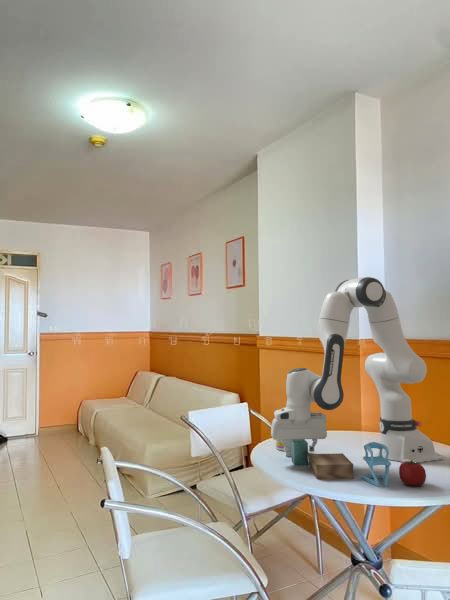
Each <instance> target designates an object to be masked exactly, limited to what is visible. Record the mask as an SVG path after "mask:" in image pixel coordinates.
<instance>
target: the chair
mask: <svg viewBox="0 0 450 600" xmlns="http://www.w3.org/2000/svg"><path fill="white" fill-rule="evenodd" d="M363 449H364V452H365V455H364V456H362V460H364V461H365V463H366V464H367V466H368V467H369V470H370V472H371V474H364V475H360V479H361V480H363V481H365V482H367V483H370V484H372V485H373V486H375V487H377V488H380V482H379V479H382V484H383V486H384V487H387V488H388V480H389V475H390V474H389V472H390V467H391V465H392V462H391V461H389V459H388V455H389V451H388V448H387V446H385V445H383V444H380V442H376V441H372V442H368V443H367V444H365V445H363ZM373 449H378V450H379V449H380V452H379V455H376V456H374V451H373ZM382 449H385V451H386V453H387V454H386V457H385V458H384V457H383V456H382ZM369 454H370V456H369ZM373 466H376V467H377V466H385V468H384V469H385V471H384V474H376V473H375V471H374V467H373Z"/></svg>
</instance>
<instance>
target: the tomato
mask: <svg viewBox="0 0 450 600" xmlns="http://www.w3.org/2000/svg"><path fill="white" fill-rule="evenodd" d="M398 475H399V479H400V480H401V482H402V483H403V484H404V485H405V486H410V487H411V486H413V487H421V485H424V484H425V482H426V481H427V473H426V469H425V468H424V466H423V465H422V464H421V463H420V462H417V463H415V462H413V461H412V460H411V461H410V462H409V461H406V462H401V463H400V465H399V467H398Z"/></svg>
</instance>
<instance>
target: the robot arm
mask: <svg viewBox="0 0 450 600" xmlns="http://www.w3.org/2000/svg"><path fill="white" fill-rule="evenodd" d="M362 307H363V308H364V309H365V311H366V312H367V313H366V314H367V317H368V322H369V327H370V332H371V337H372V340H373V342H374V343H375V344H376V345H377V346H379V347H380V348H381V350H382V351H383V352H376V353H372V354H369V355H368V356H367V357H366V359H365V362H364V368H365V369H364V370H365V372H366V374H367V375H368V376H369V377H370V379H372V381H373V383H374V385H375V387H376V390H377V392H378V396H379V405H380V407H379V408H380V417H379V431H380V439H379V443H380V444H383V445H385V446H387V448H388V451H389V455H388V460H391V461H396V462H401V463H404V462H406V461H409V462H410V461H411V460H412V461H413V462H417V463H424V462H423V461H427V462H431V461H430V460H436V461H438V460H437V459H442V460H443V456H442V455H441V453H439V452H438V451H436V450H435V446H434V443H433V441H432V440H431V438H429V436H427V435H425V434H424V433H423V432H421V431H420V430H419V429H418V428H417V427H419V428H421V427H422V426H423V424H422V421H420V420H416V419H414V418H413V415H412V399H411V397H410V396H409V395H408V394H407V393H406V392H405V391H404V390H403V387H402V386H401V384H418V383H421V382H422V381H424V379H425V378H426V375H427V371H428V368H427V364H426V362H425V360H424V359H423V358H422V357H420V356H419V355H418V354H417V353H415V351H414V349H412V348H411V346H410V345H409V342H407V340H406V338H405V335H404V333H403V332H404V331H403V329H402V325H401V321H400V314H399V311H398V306H397V304H396V302H395V300H394V297H393V295H392V294H391V292H390V291H387V290H386V289H385V287H384V285H383V283H382V282H381V281H380V280H379V279H377V278H374V277H371V276H366V277H356V278H352V279H345V280H344V281H342V282H340V283H339V284H338V285H337V287H336V289H335V290H334V291H330V292H329V293H327V294H326V295H325V297H324V299H323V302H322V304H321V309H320V313H319V316H318V322H317V336H318V339H319V340H320V343H321V345H322V347H323V352H324V357H323V358H324V359H323V364H322V366H323V367H322V372H321V373H322V374H321V375H318V374H317V373H314V372H313V371H311V370H310V369H309V368H306V367H300V368H299V367H298V368H294V369H291V370H289V371H288V373H287V376H286V382H285V383H286V385H285V387H286V388H285V391H286V392H285V393H286V396H287V399H286V403H285V404H286V406H285V407H282V408H281V409H280V408H279V409H276V410H274V412H273V416H274V418H273V419H272V422H271V428H270V437H271V438H272V439H273V440H274V441H276V440H281V443H282V444H283V446H284V451H283V452H284V453H286V452H289V447H288V446H286V445H285V444H284V443H285V442H286V440H294V439H305V440H312V443H311V445H308V452H309V451H310V452H315V447H316V445H317V444H318V440H324V439H326V438H327V437H328V431H327V429H328V428H327V415H326V414H324V413H323V412H312V403H315V404H316V405H317V406H318V407H319V408H321V409H323V410H326V411H332V410H335V409H337V408H338V407H340V405H341V404H342V403H343V400H344V389H343V386H342V385H343V384H342V370H343V361H344V351H345V347H346V341H347V337H348V332H349V327H350V321H351V314H352V312H353V309H354V308H362ZM379 452H380V449H378V451H377V456H379ZM386 454H387V453H386V451H385V449H382V456H383V457H384V458H385V457H386Z"/></svg>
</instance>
